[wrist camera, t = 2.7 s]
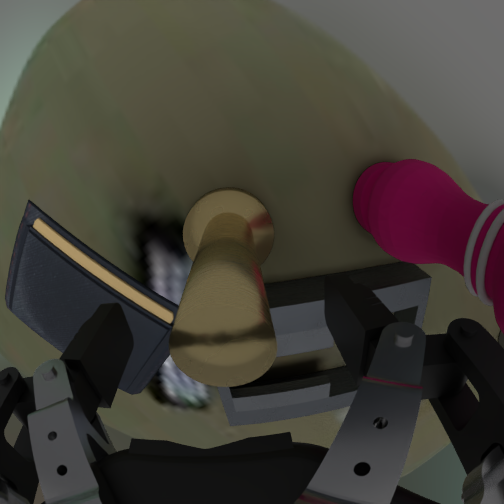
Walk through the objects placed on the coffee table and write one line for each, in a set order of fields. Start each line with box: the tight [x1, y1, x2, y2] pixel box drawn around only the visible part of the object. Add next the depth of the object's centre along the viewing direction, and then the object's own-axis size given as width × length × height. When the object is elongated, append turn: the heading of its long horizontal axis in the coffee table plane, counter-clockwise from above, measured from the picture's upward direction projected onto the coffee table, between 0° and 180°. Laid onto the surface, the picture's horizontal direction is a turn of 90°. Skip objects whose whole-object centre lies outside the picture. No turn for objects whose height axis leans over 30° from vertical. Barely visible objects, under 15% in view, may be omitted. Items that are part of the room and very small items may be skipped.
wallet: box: [5, 200, 179, 395], centre depth 23 cm, size 20×2×15 cm
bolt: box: [169, 187, 277, 387], centre depth 15 cm, size 6×6×14 cm
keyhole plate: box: [217, 261, 432, 426], centre depth 24 cm, size 19×14×4 cm
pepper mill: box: [353, 159, 504, 334], centre depth 12 cm, size 7×7×20 cm
